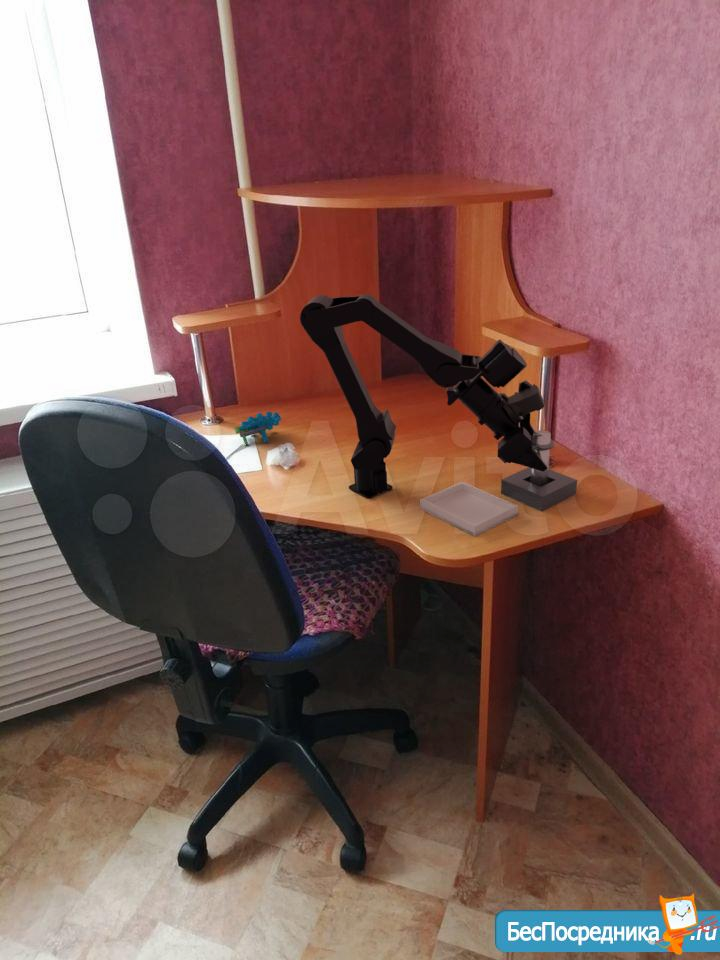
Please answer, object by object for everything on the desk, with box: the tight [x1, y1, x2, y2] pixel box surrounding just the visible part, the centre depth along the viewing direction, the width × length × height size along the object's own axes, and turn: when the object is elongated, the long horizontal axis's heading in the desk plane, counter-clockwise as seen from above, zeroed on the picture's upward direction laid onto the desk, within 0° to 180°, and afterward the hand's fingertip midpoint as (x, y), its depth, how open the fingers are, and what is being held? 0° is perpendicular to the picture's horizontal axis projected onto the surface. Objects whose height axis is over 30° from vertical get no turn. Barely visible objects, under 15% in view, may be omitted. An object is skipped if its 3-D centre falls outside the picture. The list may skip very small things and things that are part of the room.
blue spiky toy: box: [234, 411, 282, 445], centre depth 174 cm, size 11×6×10 cm
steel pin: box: [530, 429, 555, 487], centre depth 142 cm, size 4×4×12 cm
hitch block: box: [500, 467, 578, 512], centre depth 144 cm, size 10×10×3 cm
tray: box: [419, 481, 518, 537], centre depth 139 cm, size 14×11×2 cm
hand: (544, 459), depth 141 cm, fingers open, 9 cm apart
